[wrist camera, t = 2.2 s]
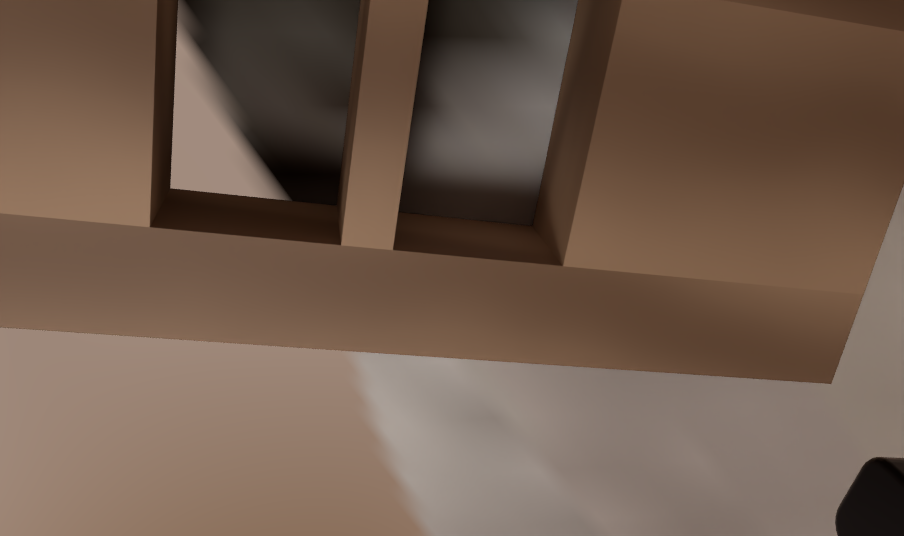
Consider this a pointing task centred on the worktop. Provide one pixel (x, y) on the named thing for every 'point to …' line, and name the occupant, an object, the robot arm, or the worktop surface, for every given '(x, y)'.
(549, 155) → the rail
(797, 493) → the worktop surface
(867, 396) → the worktop surface
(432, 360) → the worktop surface
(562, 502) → the worktop surface
